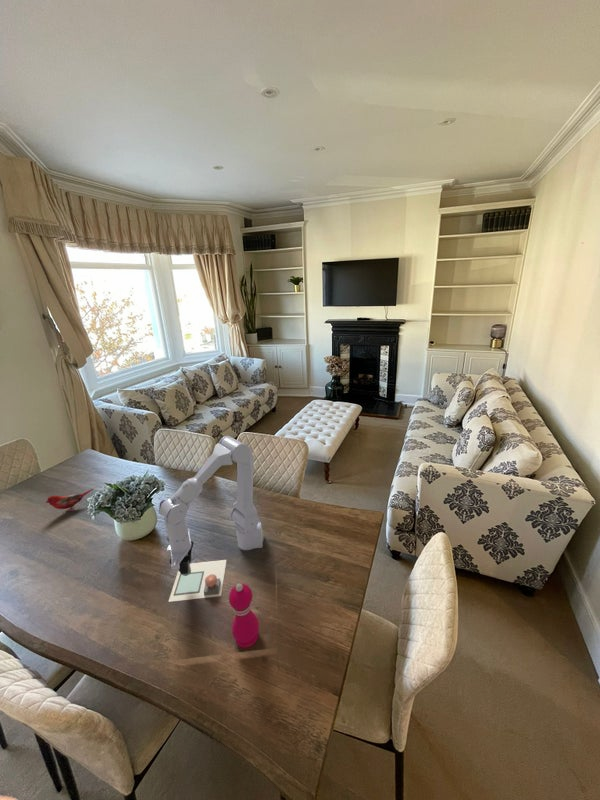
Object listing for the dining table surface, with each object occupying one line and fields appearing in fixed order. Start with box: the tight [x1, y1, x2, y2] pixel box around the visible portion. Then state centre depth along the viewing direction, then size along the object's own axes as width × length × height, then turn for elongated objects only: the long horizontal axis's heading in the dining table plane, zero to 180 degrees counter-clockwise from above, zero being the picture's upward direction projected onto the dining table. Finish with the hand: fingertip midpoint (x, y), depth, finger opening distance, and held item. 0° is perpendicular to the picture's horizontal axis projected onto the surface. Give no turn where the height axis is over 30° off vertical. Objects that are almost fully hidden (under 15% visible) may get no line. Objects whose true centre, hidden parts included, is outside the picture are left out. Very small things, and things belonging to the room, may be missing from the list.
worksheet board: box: [168, 559, 227, 603], centre depth 107 cm, size 16×14×2 cm
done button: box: [205, 574, 217, 587], centre depth 103 cm, size 4×4×3 cm
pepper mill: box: [228, 583, 260, 648], centre depth 86 cm, size 7×7×20 cm
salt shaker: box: [182, 553, 191, 576], centre depth 103 cm, size 3×3×7 cm
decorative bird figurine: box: [45, 488, 94, 513], centre depth 145 cm, size 3×18×10 cm, turn 131°
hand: (185, 568), depth 104 cm, fingers closed on salt shaker, 3 cm apart
